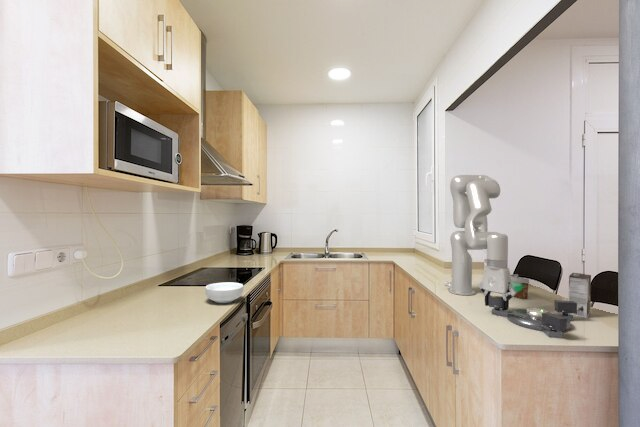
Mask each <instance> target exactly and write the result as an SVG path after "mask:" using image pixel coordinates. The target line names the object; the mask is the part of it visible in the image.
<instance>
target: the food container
mask: <svg viewBox="0 0 640 427" xmlns="http://www.w3.org/2000/svg"><path fill="white" fill-rule="evenodd" d="M510 276H511V286H512V287H513V288H514V290H515V291H516V292H517V294H516V295H515V296H513V297H512V298H515V299H521V300H528V297H529V295H528V293H529V284H530V279H529V278H524V277H521V276H519V274H518V273H516V274H510Z"/></svg>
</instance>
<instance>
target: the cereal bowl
mask: <svg viewBox="0 0 640 427" xmlns="http://www.w3.org/2000/svg"><path fill="white" fill-rule="evenodd" d="M204 290H205V293H204V294H205V295H206V297H207V298H208V299H209V300H210V301H214V303H217V304H229V303H232V302H234V301H235V300H237V299H238V298H240V297H242V295H243V293H244V284H243V283H239V282H232V281H231V282H228V281H227V282H225V281H224V282H223V281H222V282H216V283H214V282H213V283H209V284H207V285H206V286H205V289H204Z"/></svg>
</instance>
